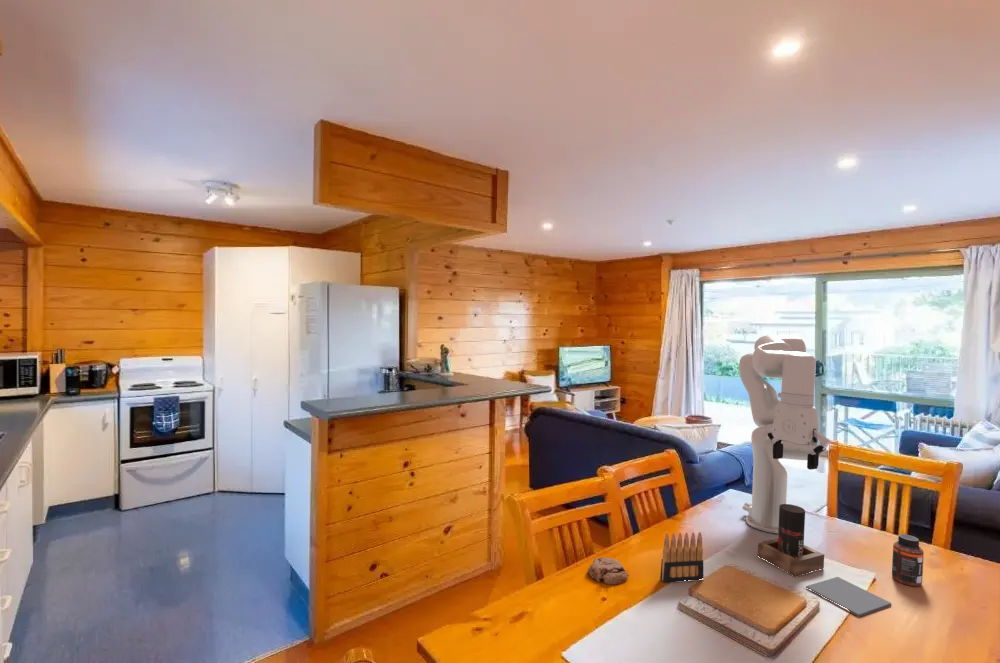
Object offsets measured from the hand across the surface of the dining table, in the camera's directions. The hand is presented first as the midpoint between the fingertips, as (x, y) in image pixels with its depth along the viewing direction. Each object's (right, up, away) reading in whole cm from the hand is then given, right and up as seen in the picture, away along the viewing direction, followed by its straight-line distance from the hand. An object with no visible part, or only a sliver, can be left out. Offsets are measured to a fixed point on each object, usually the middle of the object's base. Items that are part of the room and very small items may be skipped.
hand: (794, 463), depth 129 cm
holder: (-1, -27, +1) cm, 27 cm away
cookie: (-52, -27, -7) cm, 59 cm away
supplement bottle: (+24, -28, -7) cm, 38 cm away
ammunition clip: (-33, -27, -9) cm, 44 cm away
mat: (+4, -28, -14) cm, 32 cm away
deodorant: (-1, -27, +1) cm, 28 cm away
